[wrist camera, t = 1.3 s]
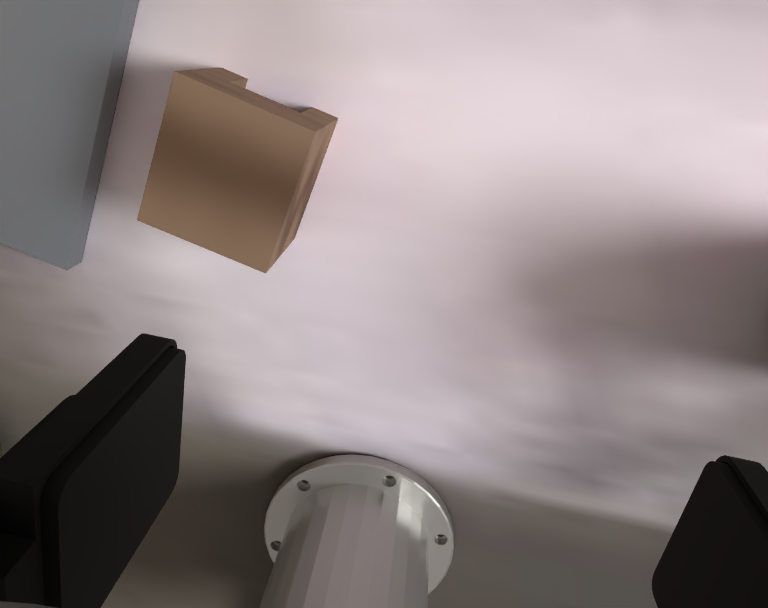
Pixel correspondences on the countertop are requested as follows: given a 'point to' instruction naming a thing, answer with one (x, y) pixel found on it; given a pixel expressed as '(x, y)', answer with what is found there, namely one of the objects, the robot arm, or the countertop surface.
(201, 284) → the countertop surface
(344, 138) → the countertop surface
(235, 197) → the saddle block
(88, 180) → the cleat board
